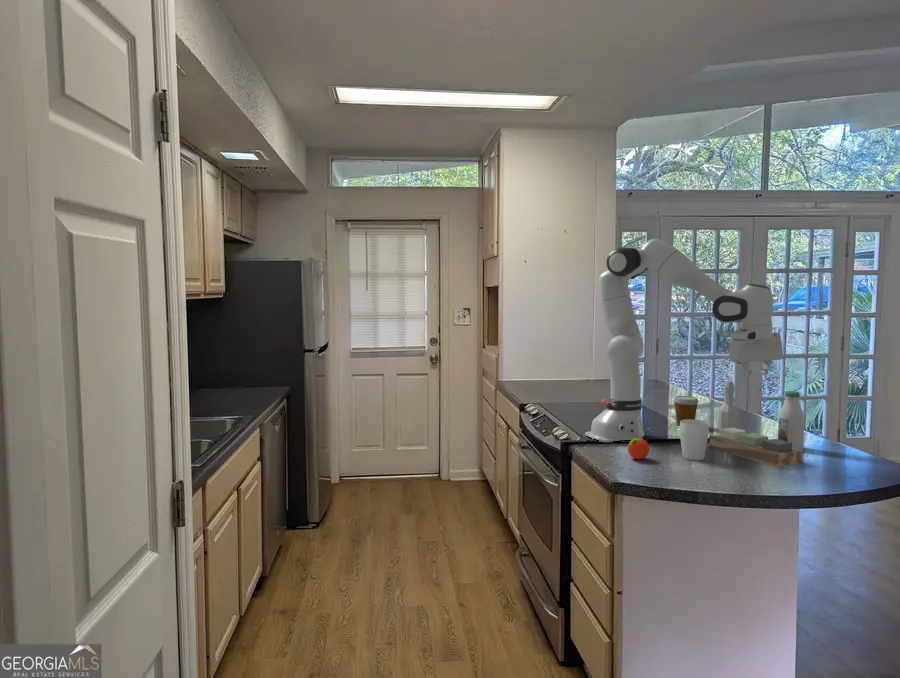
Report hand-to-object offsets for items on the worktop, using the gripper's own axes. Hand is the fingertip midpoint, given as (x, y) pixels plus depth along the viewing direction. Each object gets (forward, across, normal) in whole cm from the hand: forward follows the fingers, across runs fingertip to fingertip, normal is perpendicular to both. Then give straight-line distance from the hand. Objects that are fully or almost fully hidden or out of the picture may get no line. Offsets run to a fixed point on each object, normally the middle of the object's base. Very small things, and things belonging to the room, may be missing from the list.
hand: (755, 374), depth 205 cm
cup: (+27, +21, -5) cm, 35 cm away
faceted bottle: (+27, -7, -18) cm, 33 cm away
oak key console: (+27, 0, 0) cm, 27 cm away
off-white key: (+25, 0, -9) cm, 26 cm away
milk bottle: (+27, -18, -1) cm, 33 cm away
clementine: (+27, +39, -11) cm, 49 cm away
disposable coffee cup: (+27, -9, -42) cm, 51 cm away
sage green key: (+25, 0, 0) cm, 25 cm away
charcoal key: (+25, 0, +9) cm, 26 cm away
